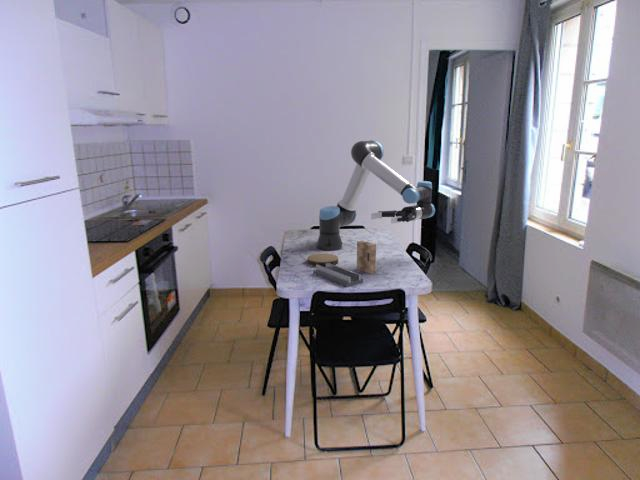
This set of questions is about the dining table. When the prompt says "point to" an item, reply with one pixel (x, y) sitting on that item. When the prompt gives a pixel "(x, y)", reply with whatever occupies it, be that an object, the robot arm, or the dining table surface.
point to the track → (338, 275)
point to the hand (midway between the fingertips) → (381, 218)
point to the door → (366, 256)
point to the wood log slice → (322, 259)
